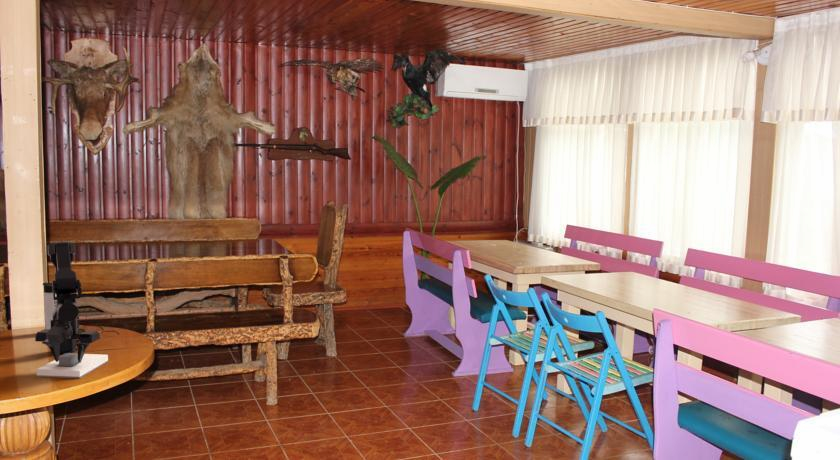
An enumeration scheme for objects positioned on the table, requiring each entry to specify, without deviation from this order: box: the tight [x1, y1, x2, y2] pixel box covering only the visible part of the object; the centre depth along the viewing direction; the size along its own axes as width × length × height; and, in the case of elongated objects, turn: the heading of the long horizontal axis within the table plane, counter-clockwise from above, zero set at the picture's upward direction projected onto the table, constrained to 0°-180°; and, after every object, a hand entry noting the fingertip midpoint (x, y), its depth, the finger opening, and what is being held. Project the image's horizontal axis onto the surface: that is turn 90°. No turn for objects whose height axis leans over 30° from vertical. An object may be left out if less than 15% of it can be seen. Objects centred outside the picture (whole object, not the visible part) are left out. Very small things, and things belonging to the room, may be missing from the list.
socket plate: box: [36, 352, 109, 379], centre depth 233 cm, size 14×18×2 cm
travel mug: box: [42, 282, 57, 329], centre depth 276 cm, size 6×7×20 cm
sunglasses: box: [77, 324, 120, 341], centre depth 276 cm, size 14×15×5 cm
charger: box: [59, 353, 78, 367], centre depth 230 cm, size 4×4×5 cm
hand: (68, 361), depth 230 cm, fingers open, 7 cm apart
